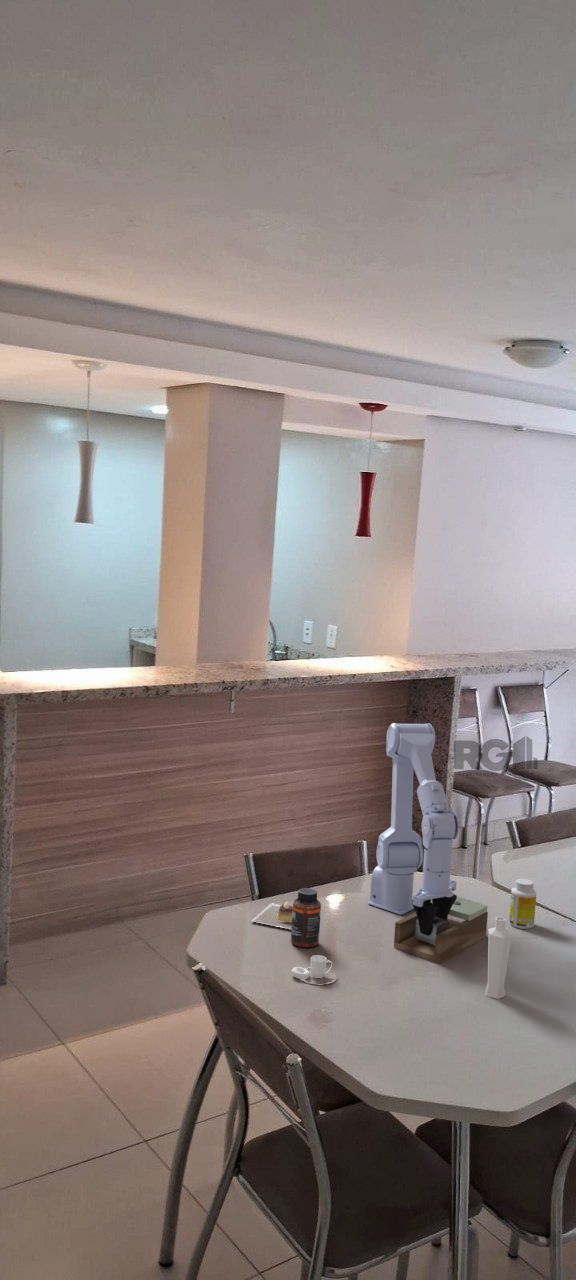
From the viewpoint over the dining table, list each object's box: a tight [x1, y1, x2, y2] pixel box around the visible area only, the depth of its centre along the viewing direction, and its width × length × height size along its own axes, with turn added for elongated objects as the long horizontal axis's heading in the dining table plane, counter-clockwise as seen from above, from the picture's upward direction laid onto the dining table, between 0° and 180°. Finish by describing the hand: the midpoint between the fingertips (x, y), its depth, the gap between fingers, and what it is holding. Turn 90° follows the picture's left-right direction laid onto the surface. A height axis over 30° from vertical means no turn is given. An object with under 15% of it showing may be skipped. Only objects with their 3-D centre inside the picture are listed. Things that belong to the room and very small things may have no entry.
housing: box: [393, 911, 489, 965], centre depth 215 cm, size 11×20×6 cm, turn 141°
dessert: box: [250, 901, 293, 931], centre depth 223 cm, size 12×12×5 cm
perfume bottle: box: [484, 916, 513, 1000], centre depth 191 cm, size 5×4×15 cm
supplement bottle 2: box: [508, 878, 537, 930], centre depth 226 cm, size 6×6×10 cm
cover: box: [431, 896, 489, 921], centre depth 219 cm, size 11×8×2 cm
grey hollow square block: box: [415, 916, 449, 945], centre depth 212 cm, size 5×5×4 cm
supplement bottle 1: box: [290, 887, 322, 949], centre depth 210 cm, size 6×6×11 cm
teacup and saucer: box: [290, 954, 333, 982], centre depth 195 cm, size 9×8×4 cm
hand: (432, 930), depth 211 cm, fingers closed on grey hollow square block, 5 cm apart
